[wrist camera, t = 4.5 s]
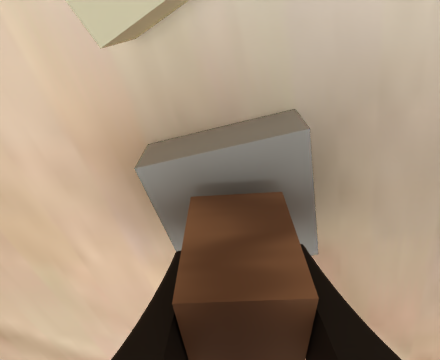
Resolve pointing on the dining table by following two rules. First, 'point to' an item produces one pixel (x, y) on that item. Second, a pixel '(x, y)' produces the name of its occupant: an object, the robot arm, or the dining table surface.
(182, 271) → the walnut block
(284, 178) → the base block
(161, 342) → the robot arm
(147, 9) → the sage block
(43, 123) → the dining table surface
